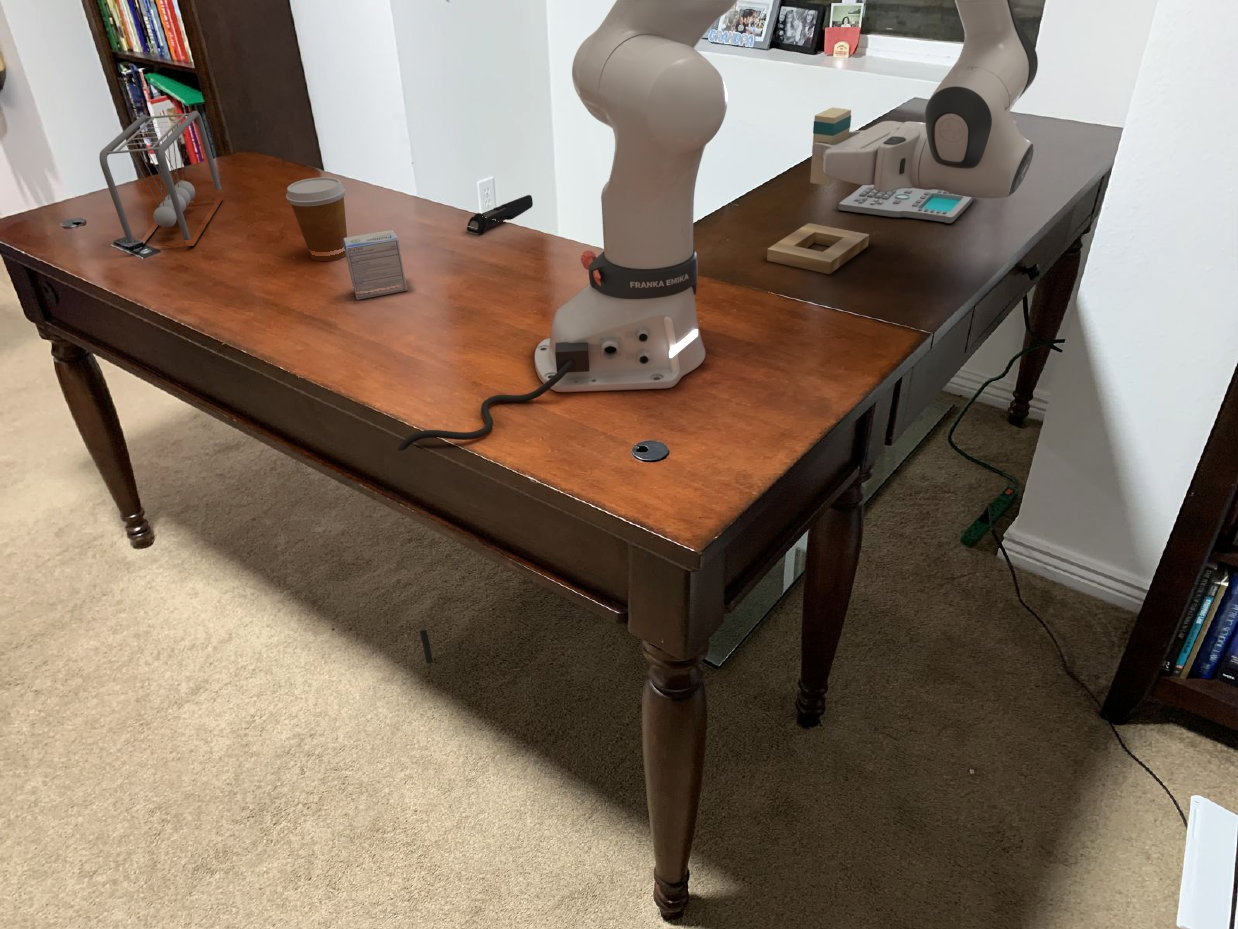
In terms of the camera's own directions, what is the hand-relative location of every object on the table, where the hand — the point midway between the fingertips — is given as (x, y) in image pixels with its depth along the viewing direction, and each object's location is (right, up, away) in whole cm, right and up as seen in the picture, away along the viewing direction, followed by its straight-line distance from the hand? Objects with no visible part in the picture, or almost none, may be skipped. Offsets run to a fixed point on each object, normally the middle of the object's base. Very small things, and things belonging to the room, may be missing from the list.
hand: (825, 142), depth 140 cm
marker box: (+1, -5, +3) cm, 6 cm away
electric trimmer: (-53, -4, +29) cm, 61 cm away
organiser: (+1, -15, +10) cm, 18 cm away
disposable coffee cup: (-81, -13, +19) cm, 84 cm away
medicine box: (-69, -22, +4) cm, 72 cm away
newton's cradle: (-114, -4, +35) cm, 120 cm away
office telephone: (+23, 0, +30) cm, 37 cm away
